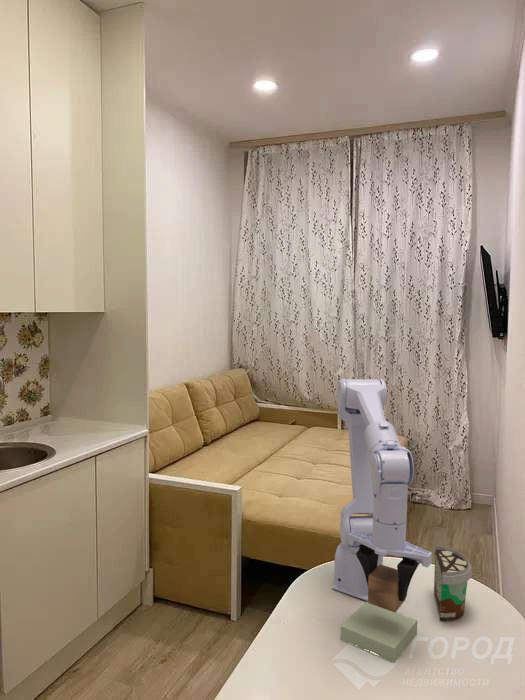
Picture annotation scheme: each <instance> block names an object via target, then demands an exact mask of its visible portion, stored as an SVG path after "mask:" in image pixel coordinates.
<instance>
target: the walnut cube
mask: <svg viewBox="0 0 525 700" xmlns="http://www.w3.org/2000/svg"><path fill="white" fill-rule="evenodd" d="M398 591H399V576H398V569H397V568H394V567H390V566H388V565H387V566H386V565H384V564H383V565H381V564H380V565H379V566H378V567H377V568H376V569H375V570H374V571H373V572H372V573H371V574H369V578H368V601H367V602H368V603H370V604H372V605H375V606H378V607H381V608H384V609H386V610H389V611H392V612H396V613H397V612H398V610H399V608H400V607H401V606H402V605H403V604H404V603H405V602H406V599H407V597H406V598H405V599H404V600H403V601H399V597H398Z"/></svg>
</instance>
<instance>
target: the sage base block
mask: <svg viewBox="0 0 525 700" xmlns="http://www.w3.org/2000/svg"><path fill="white" fill-rule="evenodd" d="M417 635H418V619H415V618H412V617H410V616H408V615H407V616H406V615H404V614H401V613H399V612H397V611H396V612H392V611H389V610H386V609H384V608H381V607H378V606H375V605H372V604H370V603H368V601H365V602H364V603H363V604H362V605H361V606H360V607H359V608H358V609H357V610H356V611H355V612H354V613H353V614H351V616H350V617H349V618H348V619H347V620H345V621H344V622H343V623H342V625H340V641H342V640H343V641H342V642H344V643H347V642H348V643H347V644H349V643H351V644H353V645H352V646H354V645H357V646H358V647H360V648H359V649H361V648H363V649H366V650H369V651H372V652H374V653H376V654H378V655H379V656H380V657H379V656H378V657H379V658H381V657H382V658H381V659H383V660H386V661H387V662H391V663H392V664H396V661H398V659H399V658H400V656H402V654H403V652H405V651H406V649H407V648H408V646H410V644H411V643H412V641H413V640H414V639H415V637H416V636H417ZM351 644H350V645H351ZM358 647H357V648H358ZM363 649H362V650H363Z"/></svg>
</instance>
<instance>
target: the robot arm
mask: <svg viewBox="0 0 525 700" xmlns="http://www.w3.org/2000/svg"><path fill="white" fill-rule="evenodd" d="M387 400H388V387H387V383H386V382H385V381H384V379H382V378H377V379H372V378H371V379H365V378H364V379H363V378H362V379H361V378H359V379H358V378H356V379H355V378H349V379H347V378H344V377H343V378H340V380H338V383H337V386H336V401H337V403H336V404H337V413H338V418H339V419H340V420H342V421H344V422H346V427H347V431H348V442H349V443H348V444H349V456H350V458H349V460H350V472H351V473H350V474H351V488H352V490H351V491H352V500H351V501H349V502H348V503H347V504H346V505H345V506H343V507H342V509H341V512H340V523H339V532H340V533H339V536H340V543H339V544H338V545H337V548H336V550H335V553H334V564H333V565H334V567H333V569H334V571H333V572H334V573H333V585H332V586H331V588H332V589H333V590H335V591H338V592H341V593H344V594H346V595H349V596H351V597H355V598H358V599H360V600H363V601H365V602H366V601H367V602H368V578H369V574H371V573H372V572H373V571H374V570H375V569H376V568H377V567H378V566H379V565H380V564H381V565H384V564H383V562H384V561H383V560H384V557H386V556H393V557H397V558H401V559H402V560H401V561H399V562H398V564H397V565H396V569H397V570H398V576H399V591H398V597H399V601H403V600H404V599H405V598H406V599H407V597H408V590H409V587H410V584H411V582H412V580H413V579H412V578H413V576H414V574H415V572H416V570H417V569H418V567H419V565H421V566H422V567H425V568H429V567H430V565H431V564H432V561H433V559H432V558H433V552H431V551H428V550H426V549H424V548H421V547H419V546H417V545H414V544H412V543H411V542H408V541H407V521H408V517H407V516H408V515H407V514H408V496H409V495H408V494H409V493H408V492H409V491H408V490H409V485H408V484H412V482H413V481H414V475H415V474H414V473H415V463H414V459H413V456H412V452H411V451H410V450H409V449H407V448H406V446H402V444H401V442H400V440H399V437H398V434H397V432H396V430H395V426H394V425H393V424H392V423H391V422H389V421H387V420H386V417H385V412H384V408H385V405H386V404H387ZM353 515H354V516H353ZM358 515H359V516H358ZM364 515H365V516H364Z"/></svg>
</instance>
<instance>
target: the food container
mask: <svg viewBox="0 0 525 700" xmlns="http://www.w3.org/2000/svg"><path fill="white" fill-rule="evenodd" d="M433 574H434V578H433V579H434V580H433V582H434V583H433V596H434V597H433V598H434V602H435V606H436V611H437V613H438V614H437V615H438V620H439V621H440V622H453V621H456V620H459V619H461V617H463V616H464V612H465V604H466V597H467V588H468V581H470V579H471V578H472V576H473V572H472V567H471V563H470V562H469V559H468V558H467V557H466V556H465V555H464V554H463V553H461V552H459V551H458V550H454V549H453V548H449V547H446V546H442V545H434V573H433Z"/></svg>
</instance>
